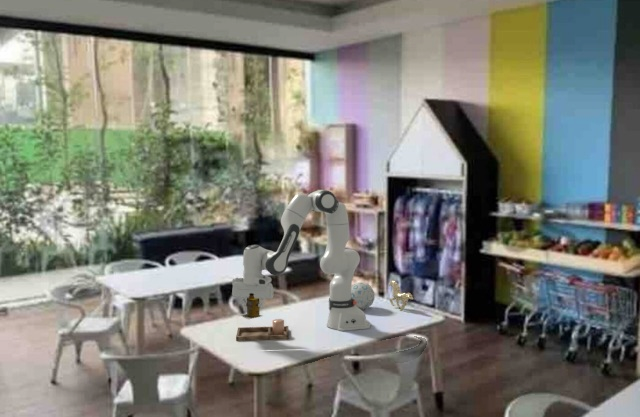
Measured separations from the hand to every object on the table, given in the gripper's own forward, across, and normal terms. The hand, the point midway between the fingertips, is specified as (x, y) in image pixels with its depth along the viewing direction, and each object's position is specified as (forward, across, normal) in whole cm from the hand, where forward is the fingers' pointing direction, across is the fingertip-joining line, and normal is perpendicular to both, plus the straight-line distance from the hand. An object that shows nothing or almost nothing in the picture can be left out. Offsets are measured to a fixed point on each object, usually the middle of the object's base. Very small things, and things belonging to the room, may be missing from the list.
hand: (252, 306), depth 279 cm
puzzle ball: (+15, +45, +57) cm, 74 cm away
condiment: (+5, -1, 0) cm, 5 cm away
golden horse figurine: (+15, +67, +60) cm, 91 cm away
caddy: (+15, +5, +1) cm, 16 cm away
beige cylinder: (+14, +12, +3) cm, 19 cm away
